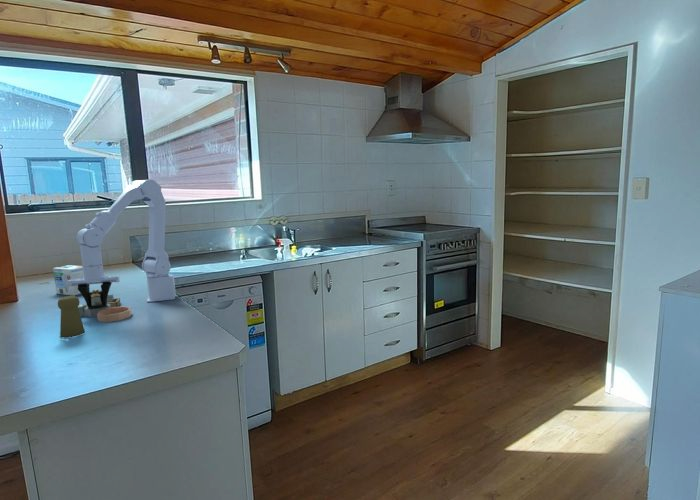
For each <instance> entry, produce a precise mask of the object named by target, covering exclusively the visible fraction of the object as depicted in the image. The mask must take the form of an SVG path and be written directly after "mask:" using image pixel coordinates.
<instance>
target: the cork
mask: <svg viewBox="0 0 700 500" xmlns="http://www.w3.org/2000/svg"><path fill="white" fill-rule="evenodd" d="M79 305H80V298H78V297H77V295H74V296H71V295H66V296H64V297H61V298H59V299H58V301H57V307H58V309H59V310H60V323H59V324H60V326H59V327H60V328H59V330H60V331H59V333H60V334H59V335H60V336H59V337H60V338H64V339H65V338H73V337H78V336H82V335H84V334H85V333H86V330H85V327H84V325H83V320H82V317H80V313H79V310H78V306H79Z"/></svg>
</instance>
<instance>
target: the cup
mask: <svg viewBox="0 0 700 500" xmlns="http://www.w3.org/2000/svg"><path fill="white" fill-rule="evenodd" d="M132 314H133V313H132V307H130V306H124V305H123V306H119V307H112V308H108V309H104V310H101V311H99V312H98V313H97V321H98V322H103V323H110V322H118V321H122V320H125V319H129V318H131V316H132Z"/></svg>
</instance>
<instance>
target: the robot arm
mask: <svg viewBox="0 0 700 500" xmlns="http://www.w3.org/2000/svg"><path fill="white" fill-rule="evenodd" d="M140 200H141V201H143V203H145V204H146V205H147V206H148V208H149V209H148V211H149V215H148V248H147V250H146V252H145V253H144V259H143V261H142V262H141V269H142V270H143V272H144V273H145V274H146V285H147V295H148V297H147V299H146V302H147V303H153V302H160V301H170V300H175V299H176V294H177V291H176V286H175V276H174V274H169V273H170V272H171V267H172V265H171V262H170V259H169V258H170V257H169V254H168V253H167V251H166V250H165V245H166V243H165V242H166V241H165V240H166V238H165V237H166V236H165V235H166V211H167V209H166V207H167V205H166V203H167V202H166V200H165V198H164V196H163V193H162V186H161V185H160V184H159V183H158V182H157V181H156V180H154V179H151V178H150V179H149V178H148V179H135V180H133V181H131V182H130V184H129V185H127V186H126V187H125V189H124V190H123V191H122V192H121V194H119V197H117V198H116V199H115V201H114V202H113V203H112V204H111V206H110V207H109V208H108V209H107V210H101V211H100V212H99V211H98V212H96V213H95V214H94V215H95V217H94V218H93V219H92V220H91V221H90V222H89V223H86V224H85V228H82V229H80V230H79V231H78V232H77V234H76V237H75V241H76V243H77V244H78V245H79V248H80V257H81V258H80V259H81V266H82V267H83V275H84V278H81V279H73V280H69V281H68V286H69V287H72V286H78V290H79V292H80V293H81V294H80V295H81V296H82V298H83V299H84V301H85V304H86V303H87V307H90V299H89V292H91V291H90V285H99V284H100V288H101V289H100V290H102V295H103V305H106V304H107V296H108V295H109V292H110V288H111V285H112V283H119V282H120V275H106V276H105V275H104V265H103V257H102V250H101V244H102V243H103V242H104V236H105V235H106V234H107V233H108V232H110V230H111V229H112V228H113V227H114V225H115V224H116V223H117V222H118V221H117V219H118V218H117V217H118V216H119V215H120V214H121V213H122V212H123V211H124V210H126V208H127V207H128V206H130V205H131V203H132V202H135V201H140Z"/></svg>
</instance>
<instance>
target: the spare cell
mask: <svg viewBox="0 0 700 500" xmlns="http://www.w3.org/2000/svg"><path fill="white" fill-rule="evenodd" d="M114 299H115V295H114V294H108V296H107V303H109V302H115V300H114Z"/></svg>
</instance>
